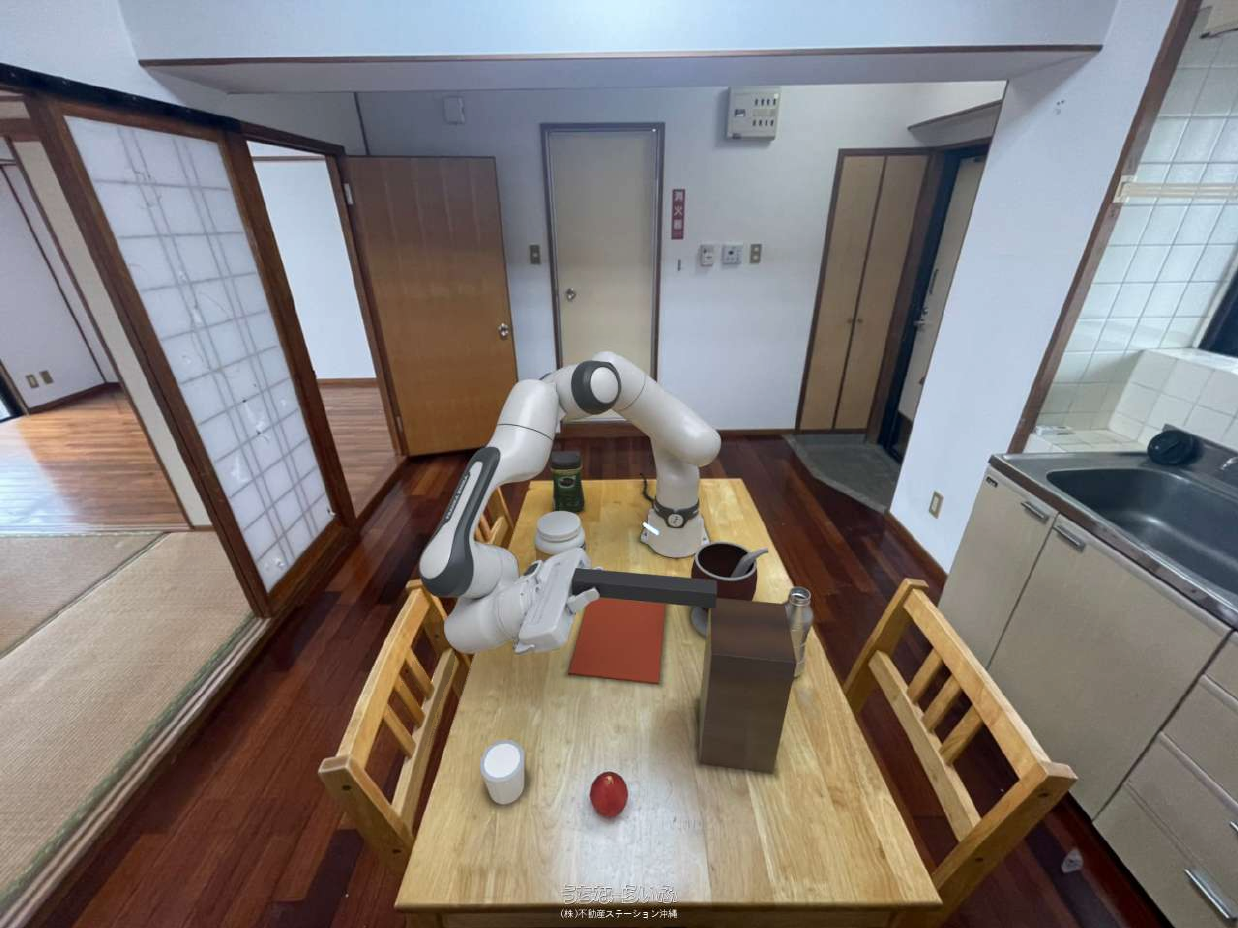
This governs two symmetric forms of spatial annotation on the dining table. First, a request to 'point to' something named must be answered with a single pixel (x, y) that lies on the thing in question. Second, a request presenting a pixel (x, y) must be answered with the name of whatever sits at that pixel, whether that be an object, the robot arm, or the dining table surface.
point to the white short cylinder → (503, 771)
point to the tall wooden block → (745, 684)
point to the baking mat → (620, 641)
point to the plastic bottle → (799, 622)
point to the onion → (608, 794)
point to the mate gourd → (725, 574)
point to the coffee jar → (567, 481)
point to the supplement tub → (558, 534)
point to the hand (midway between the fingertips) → (600, 581)
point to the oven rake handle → (647, 587)
